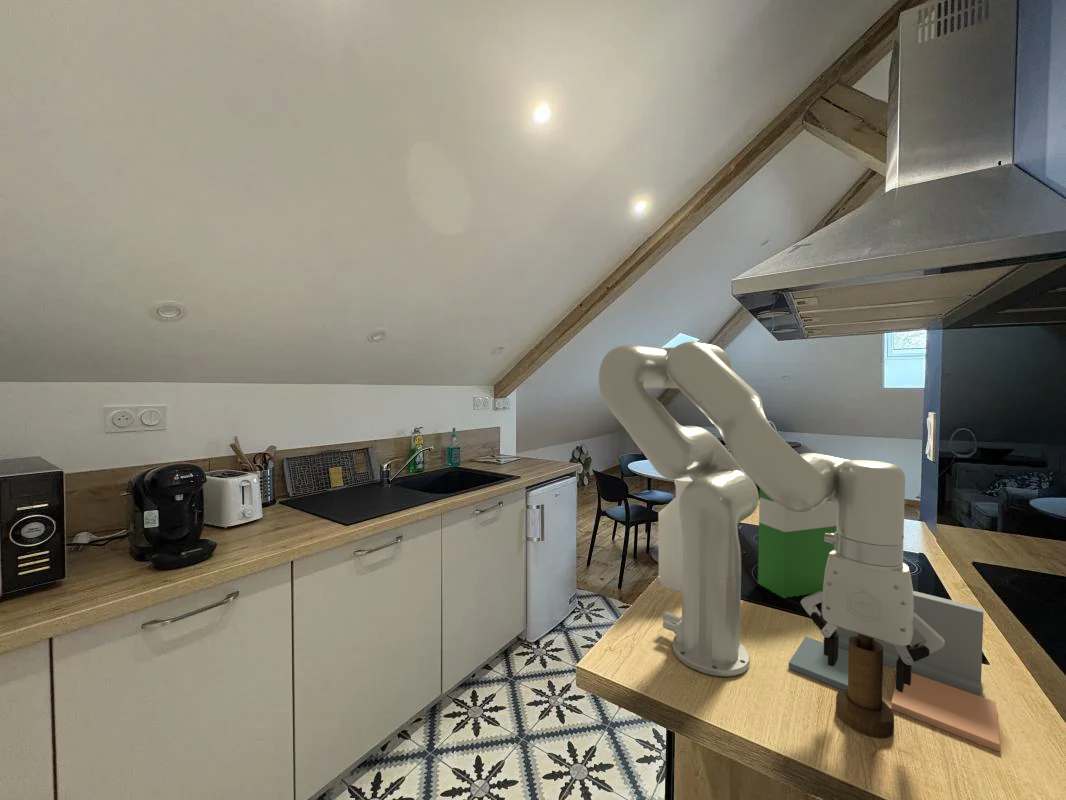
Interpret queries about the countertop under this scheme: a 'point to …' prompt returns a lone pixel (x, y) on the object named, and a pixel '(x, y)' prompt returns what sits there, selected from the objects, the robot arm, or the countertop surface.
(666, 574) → the bottle
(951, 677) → the upright grey panel
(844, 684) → the mat bluegrey
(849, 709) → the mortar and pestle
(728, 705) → the countertop surface
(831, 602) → the robot arm
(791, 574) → the hardback book
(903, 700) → the tile terracotta
